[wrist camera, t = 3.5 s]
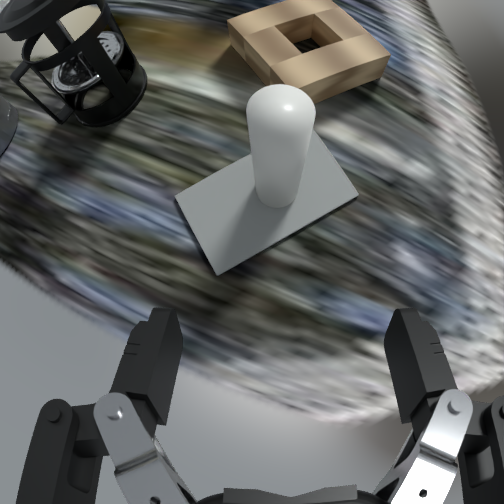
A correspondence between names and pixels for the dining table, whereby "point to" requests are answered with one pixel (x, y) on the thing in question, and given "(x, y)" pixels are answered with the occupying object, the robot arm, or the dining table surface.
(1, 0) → the panda figurine
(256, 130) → the peg
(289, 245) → the dining table surface
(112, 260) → the dining table surface
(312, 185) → the mat
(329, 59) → the socket block
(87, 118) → the french press
